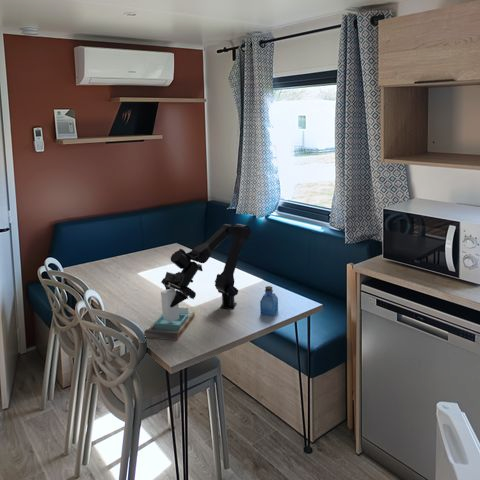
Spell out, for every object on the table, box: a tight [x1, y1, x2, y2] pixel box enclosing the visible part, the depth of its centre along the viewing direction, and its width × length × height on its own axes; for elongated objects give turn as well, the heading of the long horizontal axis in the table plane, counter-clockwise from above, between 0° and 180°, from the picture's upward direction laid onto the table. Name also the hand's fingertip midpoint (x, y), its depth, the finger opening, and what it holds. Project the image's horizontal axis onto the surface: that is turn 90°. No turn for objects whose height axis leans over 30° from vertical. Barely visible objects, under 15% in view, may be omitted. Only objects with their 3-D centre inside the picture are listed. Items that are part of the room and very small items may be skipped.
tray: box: [153, 305, 192, 331], centre depth 219 cm, size 17×11×4 cm, turn 168°
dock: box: [144, 311, 196, 341], centre depth 216 cm, size 24×14×3 cm, turn 168°
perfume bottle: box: [259, 285, 279, 317], centre depth 226 cm, size 6×6×12 cm
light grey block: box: [160, 289, 180, 322], centre depth 215 cm, size 5×5×12 cm
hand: (167, 305), depth 214 cm, fingers closed on light grey block, 5 cm apart
